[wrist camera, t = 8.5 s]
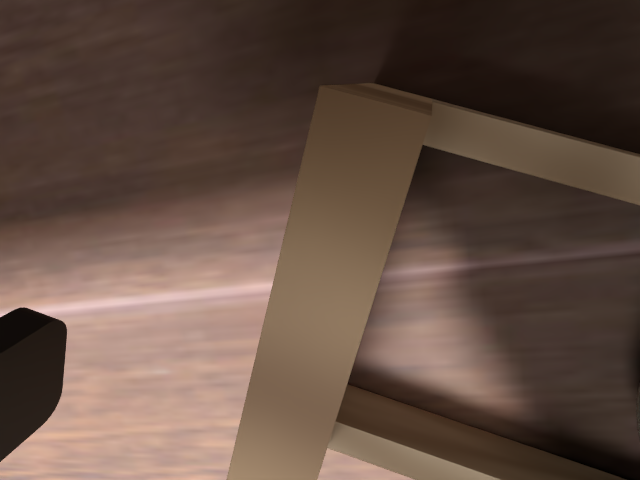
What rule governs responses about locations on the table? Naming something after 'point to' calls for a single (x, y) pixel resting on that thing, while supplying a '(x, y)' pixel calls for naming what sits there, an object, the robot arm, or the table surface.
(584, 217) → the table surface
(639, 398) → the cup
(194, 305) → the table surface
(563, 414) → the table surface
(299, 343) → the wooden drawer
